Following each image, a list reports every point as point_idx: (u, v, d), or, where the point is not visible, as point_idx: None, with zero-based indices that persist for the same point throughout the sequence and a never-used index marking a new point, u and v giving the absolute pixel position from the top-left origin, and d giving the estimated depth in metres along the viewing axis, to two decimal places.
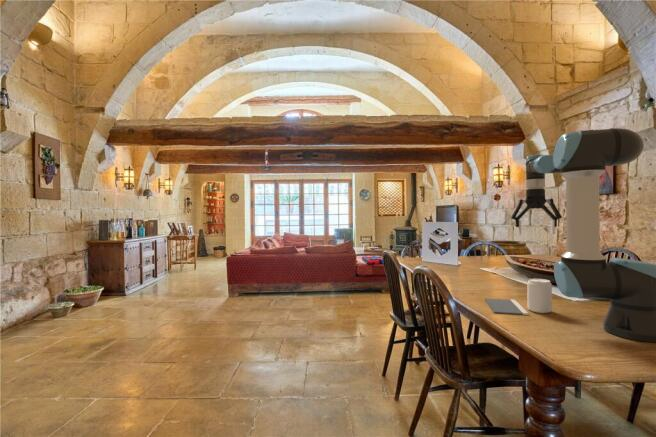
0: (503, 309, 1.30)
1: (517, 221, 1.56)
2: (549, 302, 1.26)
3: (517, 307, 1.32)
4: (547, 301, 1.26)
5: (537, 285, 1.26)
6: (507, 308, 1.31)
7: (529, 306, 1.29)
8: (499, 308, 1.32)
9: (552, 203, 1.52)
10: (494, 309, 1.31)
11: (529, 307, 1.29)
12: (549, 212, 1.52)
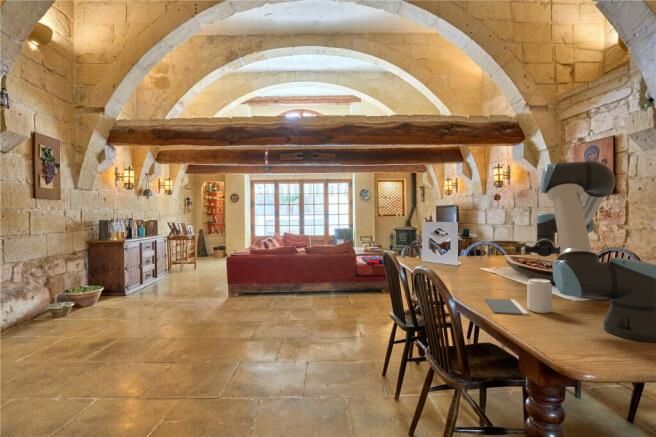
0: (503, 309, 1.30)
1: (521, 248, 1.47)
2: (549, 302, 1.26)
3: (517, 307, 1.32)
4: (547, 301, 1.26)
5: (537, 285, 1.26)
6: (507, 308, 1.31)
7: (529, 306, 1.29)
8: (499, 308, 1.32)
9: None
10: (494, 309, 1.31)
11: (529, 307, 1.29)
12: (557, 248, 1.42)
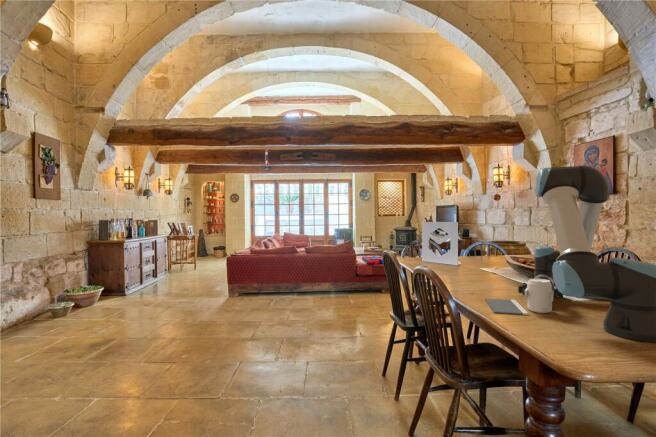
0: (503, 309, 1.30)
1: (524, 289, 1.33)
2: (549, 302, 1.26)
3: (517, 307, 1.32)
4: (547, 301, 1.26)
5: (537, 285, 1.26)
6: (507, 308, 1.31)
7: (529, 306, 1.29)
8: (499, 308, 1.32)
9: None
10: (494, 309, 1.31)
11: (529, 307, 1.29)
12: None
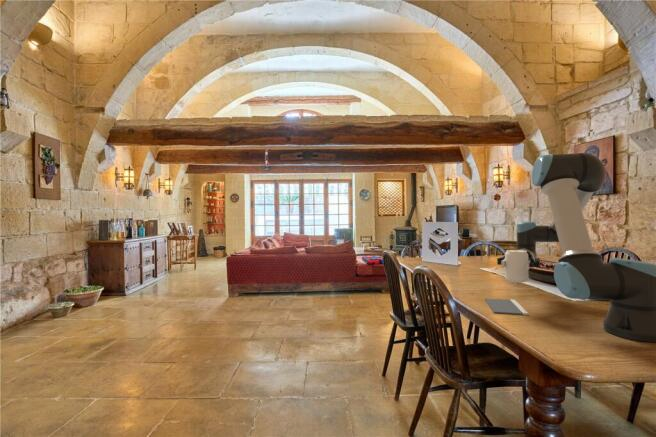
0: (503, 309, 1.30)
1: None
2: (525, 271, 1.29)
3: (517, 307, 1.32)
4: (523, 270, 1.28)
5: (514, 255, 1.29)
6: (507, 308, 1.31)
7: (506, 276, 1.32)
8: (499, 308, 1.32)
9: (536, 258, 1.37)
10: (494, 309, 1.31)
11: (506, 277, 1.32)
12: (528, 259, 1.35)
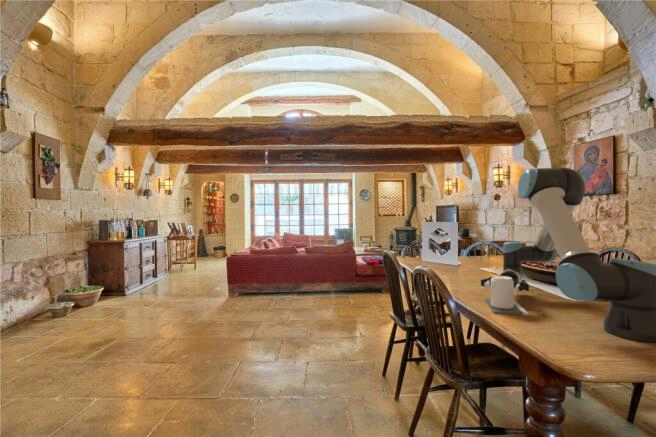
0: (503, 309, 1.30)
1: (485, 282, 1.38)
2: (510, 298, 1.30)
3: (517, 307, 1.32)
4: (508, 297, 1.29)
5: (499, 282, 1.30)
6: None
7: (492, 302, 1.33)
8: None
9: (523, 280, 1.38)
10: (494, 309, 1.31)
11: (492, 303, 1.33)
12: (517, 282, 1.35)
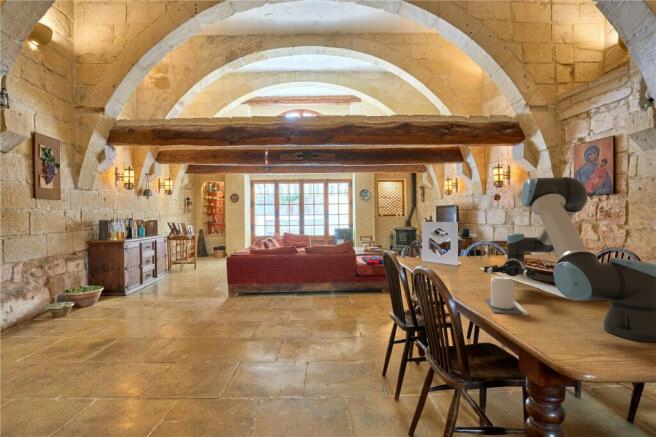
0: (503, 309, 1.30)
1: (488, 268, 1.51)
2: (510, 298, 1.30)
3: (517, 307, 1.32)
4: (508, 297, 1.29)
5: (499, 282, 1.30)
6: None
7: (492, 302, 1.33)
8: None
9: (527, 267, 1.49)
10: (494, 309, 1.31)
11: (492, 303, 1.33)
12: (522, 268, 1.46)
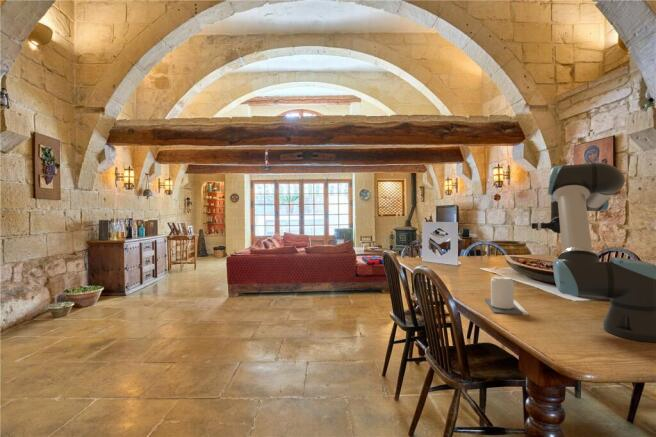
0: (503, 309, 1.30)
1: (537, 224, 1.50)
2: (510, 298, 1.30)
3: (517, 307, 1.32)
4: (508, 297, 1.29)
5: (499, 282, 1.30)
6: None
7: (492, 302, 1.33)
8: None
9: None
10: (494, 309, 1.31)
11: (492, 303, 1.33)
12: None
